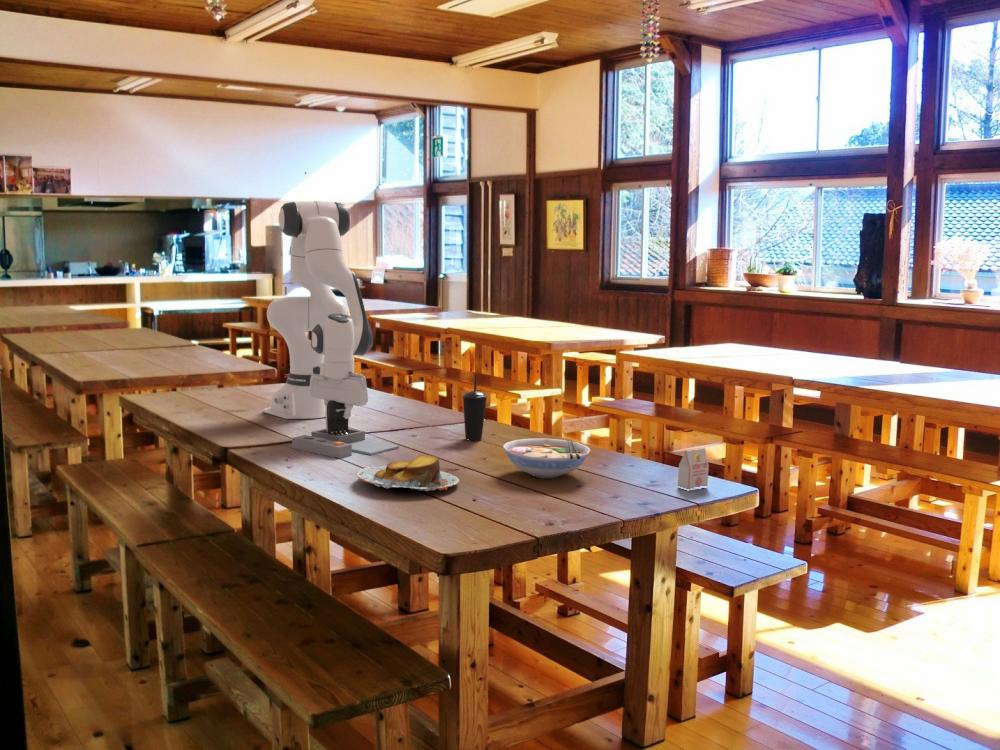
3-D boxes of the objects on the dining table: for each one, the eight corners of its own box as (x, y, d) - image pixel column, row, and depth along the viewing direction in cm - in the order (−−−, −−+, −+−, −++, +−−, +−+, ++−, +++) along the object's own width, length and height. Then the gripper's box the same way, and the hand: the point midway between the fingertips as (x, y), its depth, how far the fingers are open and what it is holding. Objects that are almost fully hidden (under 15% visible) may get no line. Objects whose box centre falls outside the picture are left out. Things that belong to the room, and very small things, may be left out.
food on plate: (348, 475, 246) (348, 450, 245) (441, 470, 255) (442, 446, 254) (369, 502, 223) (370, 474, 222) (472, 496, 231) (473, 469, 230)
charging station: (283, 446, 274) (283, 433, 274) (337, 434, 293) (337, 422, 292) (339, 458, 263) (339, 445, 262) (391, 445, 281) (392, 432, 280)
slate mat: (339, 448, 274) (339, 446, 274) (367, 441, 284) (367, 439, 284) (371, 455, 267) (371, 453, 267) (399, 448, 277) (399, 445, 277)
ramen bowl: (503, 462, 265) (504, 432, 264) (586, 465, 265) (588, 436, 263) (500, 485, 240) (501, 453, 239) (592, 489, 240) (593, 457, 239)
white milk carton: (677, 488, 244) (679, 449, 243) (696, 484, 248) (699, 446, 247) (687, 491, 241) (690, 452, 240) (707, 488, 245) (709, 449, 244)
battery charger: (330, 440, 282) (330, 401, 280) (325, 437, 285) (324, 399, 283) (352, 437, 286) (352, 399, 284) (346, 435, 289) (346, 397, 287)
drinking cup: (456, 440, 290) (458, 374, 287) (466, 435, 297) (468, 371, 294) (480, 443, 287) (482, 376, 284) (489, 438, 294) (491, 373, 291)
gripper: (373, 373, 279) (372, 420, 281) (321, 365, 290) (321, 410, 292) (358, 375, 274) (357, 423, 276) (306, 367, 285) (306, 413, 287)
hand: (338, 416), depth 284 cm, fingers closed on battery charger, 5 cm apart
